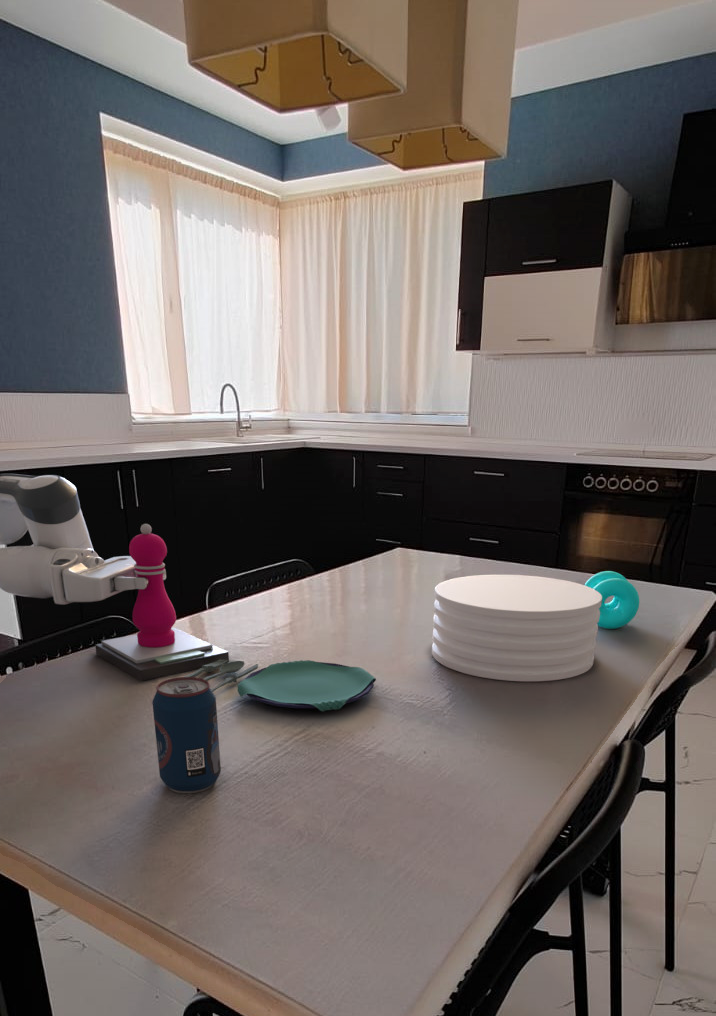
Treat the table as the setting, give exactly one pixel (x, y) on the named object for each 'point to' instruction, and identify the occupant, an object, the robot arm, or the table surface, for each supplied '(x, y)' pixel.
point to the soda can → (186, 734)
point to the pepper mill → (152, 591)
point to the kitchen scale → (159, 655)
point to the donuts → (615, 599)
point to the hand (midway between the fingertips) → (155, 579)
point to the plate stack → (515, 627)
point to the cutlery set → (297, 683)
